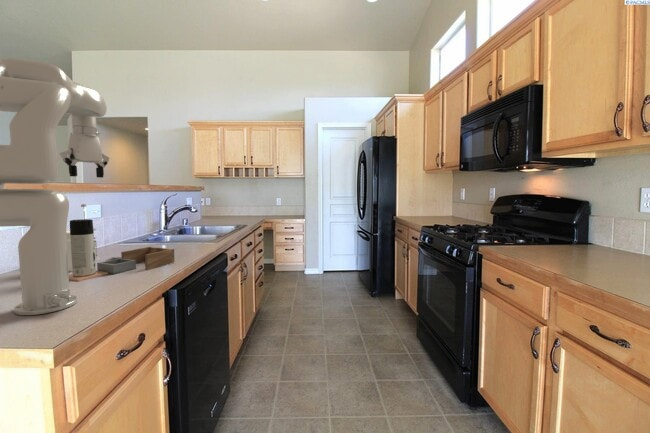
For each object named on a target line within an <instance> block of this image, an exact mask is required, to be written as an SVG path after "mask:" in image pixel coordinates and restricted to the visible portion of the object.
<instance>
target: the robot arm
mask: <svg viewBox="0 0 650 433" xmlns="http://www.w3.org/2000/svg"><path fill="white" fill-rule="evenodd" d="M107 109H108V108H107V104H106V101H105V99H104V98H103V96H102V95H101V93H99V92H98V91H97V90H95V89H93V88H90V87H88V86H85V85H83V84H80V83H78V82H75V81H73V80H72V78H70V77H69V76H68V74H66V73H65V71H63V69H61V68H60V67H58V66H57V65H54V64H52V63H49V62H44V61H38V60H29V59H23V58H15V57H6V58H2V59H0V112H7V113H8V112H9V113H16V114H14V116H13V117H12V119H11V120H10V121H9V125H8V126H9V137H10V143H9V144H0V227H30V228H29V229H28V230H27V231H26V233H24V235H22V237H21V238H20V240H19V241H18V246H17V249H18V251H17V252H18V262H19V263H18V264H19V277H20V289H21V303H19V304H17V305H16V306H15V307H14V308H13V310H14V314H16V315H19V316H36V315H43V314H49V313H53V312H58V311H62V310H64V309H67V308H70V307H72V306H74V305H75V304H76V303H77V302H78V297H77V296H76V295H74V294H71V291H70V290H71V289H70V280H69V274H70V273H69V272H68V256H67V238H66V231H67V227H68V226H67V225H68V217H69V209H70V203H69V202H70V201H69V199H68V197H67V196H66V195H65V193H63V192H61V191H58V190H53V189H47V188H46V189H45V188H5V185H6V184H9V185H10V184H14V185H15V184H17V185H18V184H19V185H20V184H22V185H30V184H31V185H41V184H45V185H46V184H50V183H53V182H55V181H56V180H57V179H58V177H59V160H58V158H59V157H58V147H57V128H58V125H59V123H60V121H61V119H62V118H63V117H64V115H65V114H66V115H70V116H71V127H72V128H71V129H72V134H70V135H69V139H68V146H67V147H68V148H67V150H64V151H62V152H61V151H60V153H59V156H60V157H61V158H62V161H63V162H64V163H65V164H66V165H67V166H68V174H69V176H70V177H78V166H77V164H78V163H81V162H82V163H92V164H93V163H94V165H95V166H96V168H95V171H96V172H95V174H96V178H100V179H101V178H102V179H103V178H104V175H105V173H104V168H105V167H106V166H107V165H108V163H109V161H110V157H109V156H107V155H105V154H104V153H103V152H102V150H103V149H102V146H101V141H100V138H99V137H98V136H100V134H101V133H100V131H98V128H97V126H98V124H97V118H102V117H104V116H106V113H107Z"/></svg>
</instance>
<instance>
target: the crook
mask: <svg viewBox="0 0 650 433" xmlns="http://www.w3.org/2000/svg"><path fill="white" fill-rule="evenodd" d="M118 258H122V256H120V257H119V256H117V257H116V256H114V257H113V256H112V257H110V258H108V259H105V261H109V260H114V259H118Z"/></svg>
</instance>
